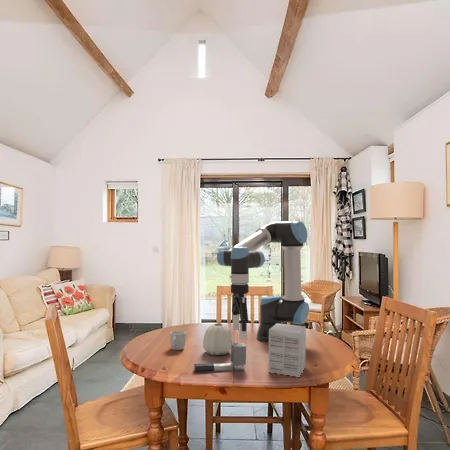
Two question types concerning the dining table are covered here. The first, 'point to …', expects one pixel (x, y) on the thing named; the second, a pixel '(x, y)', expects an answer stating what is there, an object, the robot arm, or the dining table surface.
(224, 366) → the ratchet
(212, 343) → the vase
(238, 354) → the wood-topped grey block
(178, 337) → the cup
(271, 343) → the supplement box
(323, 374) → the dining table surface
